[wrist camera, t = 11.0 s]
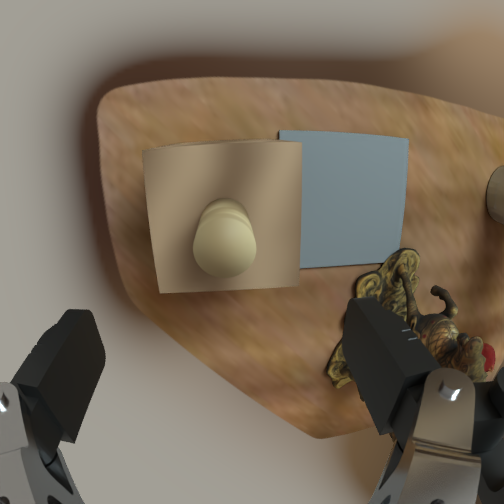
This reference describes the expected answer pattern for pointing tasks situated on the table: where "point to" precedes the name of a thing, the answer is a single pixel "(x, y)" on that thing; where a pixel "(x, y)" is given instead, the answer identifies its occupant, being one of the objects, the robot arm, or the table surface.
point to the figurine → (415, 320)
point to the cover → (225, 214)
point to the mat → (350, 196)
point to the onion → (488, 357)
